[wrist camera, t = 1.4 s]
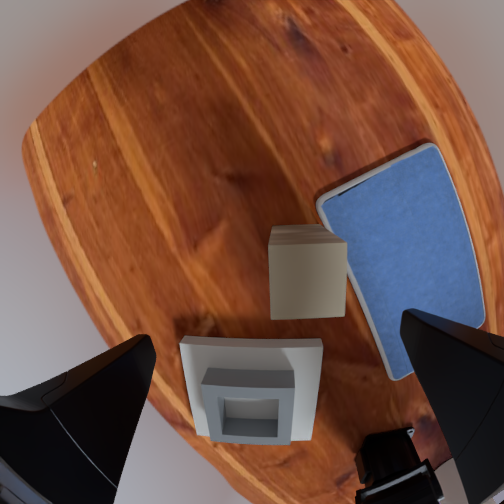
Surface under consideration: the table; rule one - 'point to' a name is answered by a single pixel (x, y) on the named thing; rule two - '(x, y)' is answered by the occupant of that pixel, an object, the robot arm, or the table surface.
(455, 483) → the cylindrical container
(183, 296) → the table surface
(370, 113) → the table surface
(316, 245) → the peg
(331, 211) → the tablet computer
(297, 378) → the socket board
